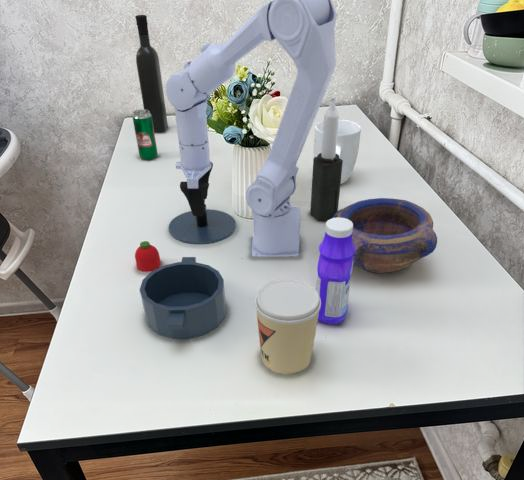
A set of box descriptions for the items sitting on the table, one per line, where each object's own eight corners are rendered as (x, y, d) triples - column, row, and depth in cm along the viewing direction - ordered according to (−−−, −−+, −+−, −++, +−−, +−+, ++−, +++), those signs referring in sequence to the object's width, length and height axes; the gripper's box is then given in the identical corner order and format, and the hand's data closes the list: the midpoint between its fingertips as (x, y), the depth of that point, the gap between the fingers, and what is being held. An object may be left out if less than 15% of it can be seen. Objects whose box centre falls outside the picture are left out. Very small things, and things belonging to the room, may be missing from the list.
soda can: (137, 160, 136) (128, 114, 128) (144, 153, 140) (136, 108, 132) (154, 161, 135) (146, 115, 127) (160, 154, 139) (153, 109, 131)
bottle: (345, 329, 82) (357, 236, 70) (311, 325, 83) (318, 233, 71) (348, 303, 87) (360, 213, 75) (316, 300, 88) (323, 210, 76)
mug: (356, 197, 118) (363, 141, 109) (310, 195, 119) (313, 140, 110) (354, 171, 129) (360, 119, 120) (312, 170, 130) (315, 118, 121)
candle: (320, 222, 109) (329, 101, 92) (308, 213, 112) (314, 94, 95) (339, 217, 110) (351, 97, 94) (326, 208, 114) (336, 90, 97)
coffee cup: (254, 340, 80) (252, 279, 72) (310, 336, 81) (315, 275, 72) (258, 381, 73) (257, 319, 65) (320, 377, 74) (327, 315, 66)
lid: (237, 213, 112) (236, 190, 109) (234, 246, 102) (233, 222, 98) (174, 213, 113) (170, 190, 109) (164, 247, 102) (160, 222, 98)
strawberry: (162, 261, 98) (158, 237, 94) (159, 274, 95) (154, 249, 91) (140, 261, 98) (135, 237, 94) (135, 274, 95) (130, 250, 91)
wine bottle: (151, 126, 156) (133, 13, 136) (169, 127, 155) (153, 13, 135) (146, 133, 152) (127, 17, 131) (164, 133, 151) (148, 17, 131)
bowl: (327, 238, 104) (331, 193, 97) (411, 237, 104) (421, 192, 97) (337, 287, 91) (343, 239, 84) (434, 286, 91) (447, 238, 84)
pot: (228, 283, 92) (226, 253, 88) (222, 352, 78) (219, 320, 74) (156, 283, 92) (150, 253, 88) (137, 352, 78) (129, 321, 74)
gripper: (177, 127, 100) (185, 191, 109) (167, 155, 89) (176, 223, 98) (212, 127, 100) (217, 191, 109) (206, 155, 89) (211, 223, 98)
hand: (200, 206), depth 104 cm, fingers open, 7 cm apart
